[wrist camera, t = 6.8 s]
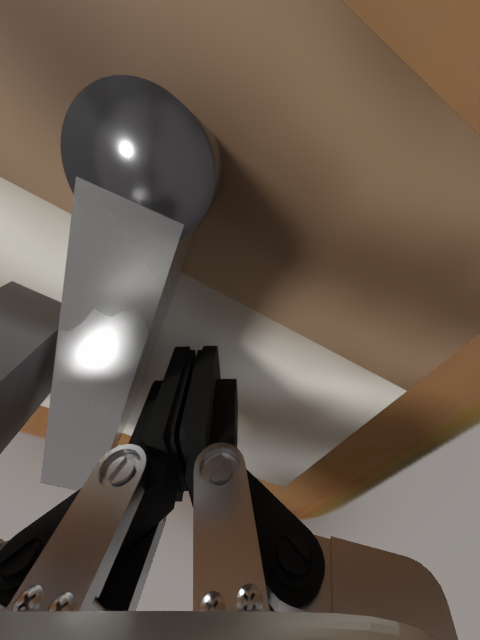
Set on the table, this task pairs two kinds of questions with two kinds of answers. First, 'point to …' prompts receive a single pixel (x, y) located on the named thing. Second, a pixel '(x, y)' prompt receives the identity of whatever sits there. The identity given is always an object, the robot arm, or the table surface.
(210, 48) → the door board
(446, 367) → the table surface
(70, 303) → the bar
